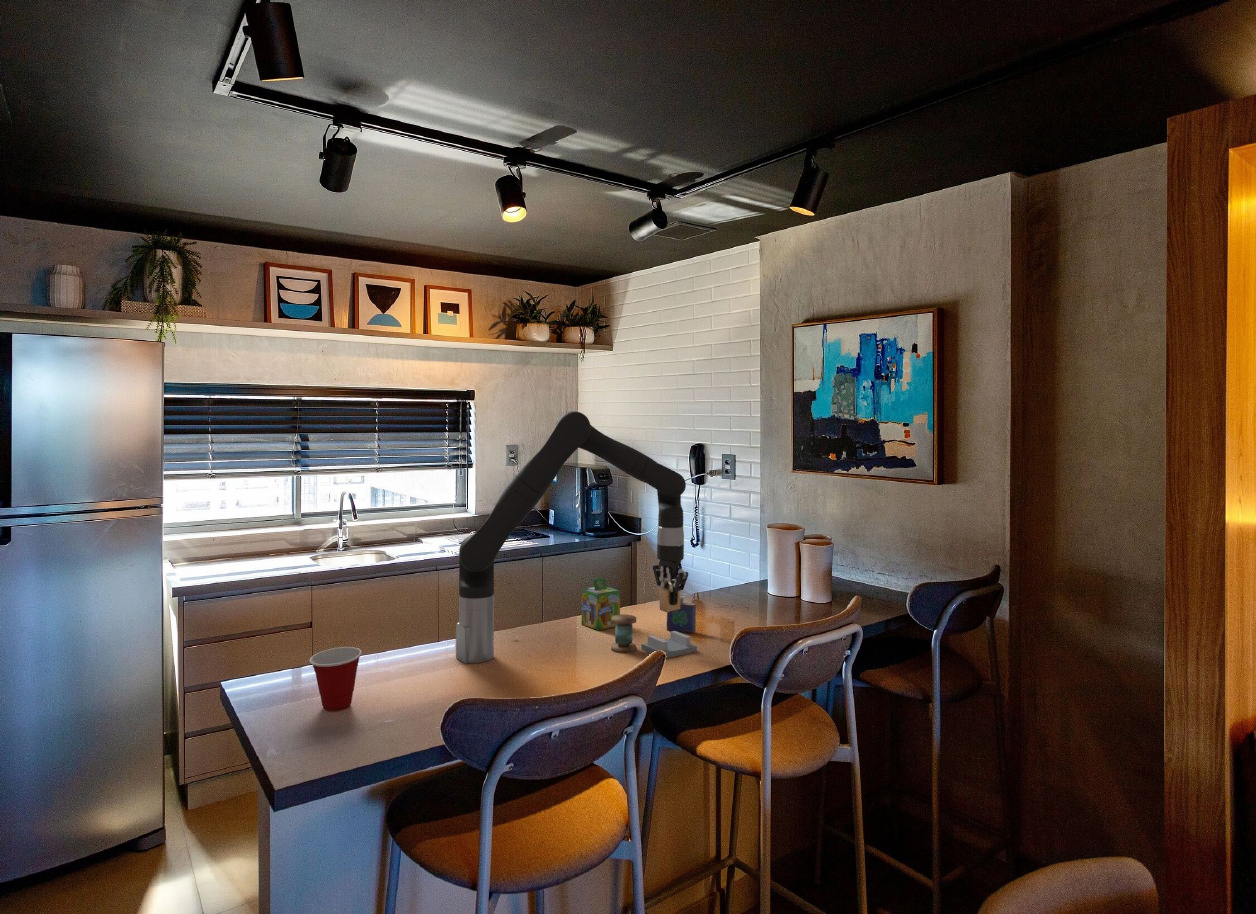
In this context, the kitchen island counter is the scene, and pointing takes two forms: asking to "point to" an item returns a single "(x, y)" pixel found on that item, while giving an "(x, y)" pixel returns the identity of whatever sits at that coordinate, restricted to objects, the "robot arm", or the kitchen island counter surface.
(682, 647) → the grey ridged tray
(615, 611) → the chalk box
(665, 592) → the brown wooden block
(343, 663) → the plastic cup
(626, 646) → the bobbin
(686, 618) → the flask
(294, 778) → the kitchen island counter surface
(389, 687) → the kitchen island counter surface
